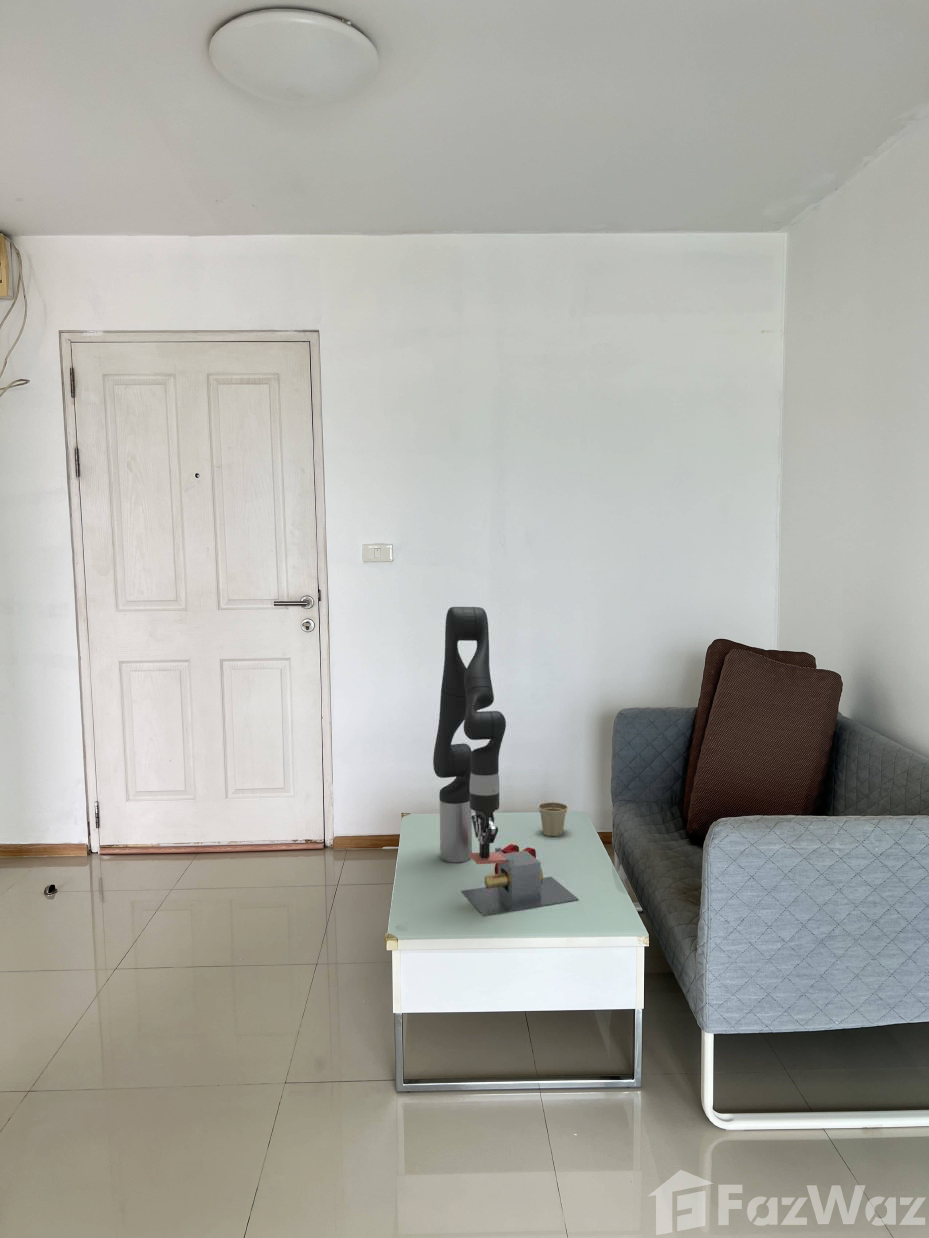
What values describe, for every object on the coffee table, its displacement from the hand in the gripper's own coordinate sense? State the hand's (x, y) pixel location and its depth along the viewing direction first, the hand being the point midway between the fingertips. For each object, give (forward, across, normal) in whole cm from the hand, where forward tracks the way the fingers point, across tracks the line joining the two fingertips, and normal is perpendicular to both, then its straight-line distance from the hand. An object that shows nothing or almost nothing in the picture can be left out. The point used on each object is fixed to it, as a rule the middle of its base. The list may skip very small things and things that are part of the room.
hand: (484, 857), depth 219 cm
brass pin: (+9, +1, -8) cm, 12 cm away
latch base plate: (+12, +1, -10) cm, 15 cm away
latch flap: (+1, +1, -2) cm, 2 cm away
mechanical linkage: (+12, +18, -15) cm, 26 cm away
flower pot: (+11, +41, -39) cm, 57 cm away
